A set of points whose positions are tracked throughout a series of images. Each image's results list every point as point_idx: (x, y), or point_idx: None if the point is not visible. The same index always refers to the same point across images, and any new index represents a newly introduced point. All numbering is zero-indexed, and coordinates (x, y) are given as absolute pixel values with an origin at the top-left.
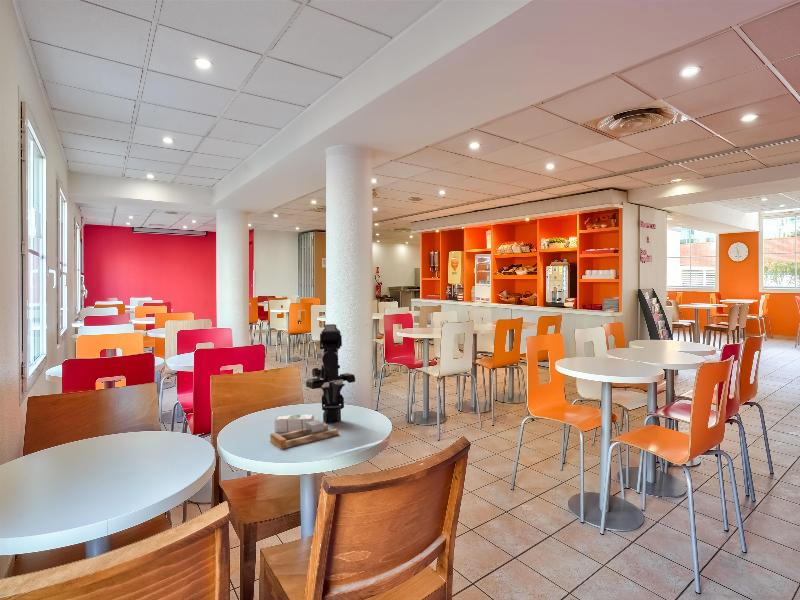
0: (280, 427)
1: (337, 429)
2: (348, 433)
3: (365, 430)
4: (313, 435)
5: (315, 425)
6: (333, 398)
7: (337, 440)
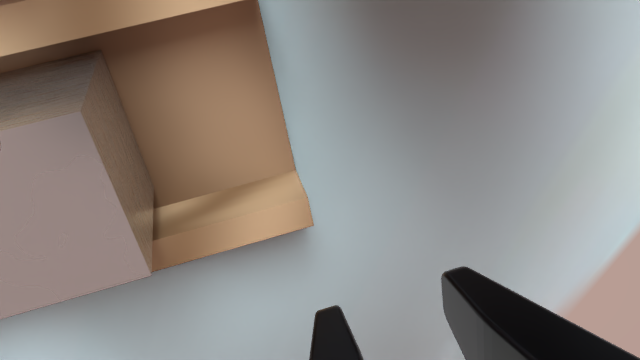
0: None
1: (303, 225)
2: (411, 135)
3: (568, 121)
4: None
5: (24, 306)
6: (487, 350)
7: (256, 266)
